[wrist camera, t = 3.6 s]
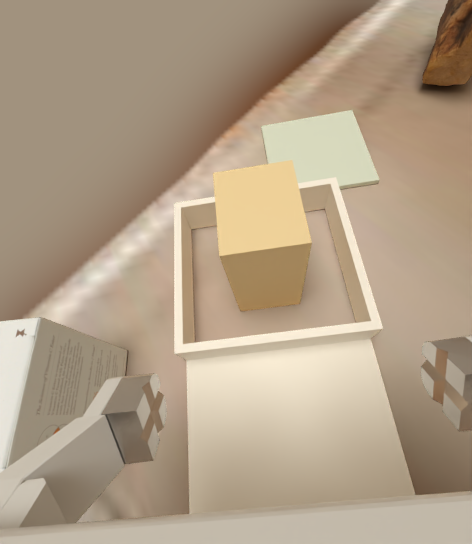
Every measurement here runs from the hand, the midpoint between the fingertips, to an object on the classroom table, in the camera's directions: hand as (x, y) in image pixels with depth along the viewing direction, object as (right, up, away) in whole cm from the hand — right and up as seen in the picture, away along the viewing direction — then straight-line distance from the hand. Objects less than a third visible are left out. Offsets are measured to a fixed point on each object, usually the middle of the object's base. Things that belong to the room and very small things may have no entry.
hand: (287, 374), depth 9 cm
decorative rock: (+23, +26, +25) cm, 43 cm away
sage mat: (+7, +15, +22) cm, 28 cm away
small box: (-13, -7, +15) cm, 21 cm away
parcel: (+1, +3, +17) cm, 17 cm away
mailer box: (+2, -3, +14) cm, 15 cm away
